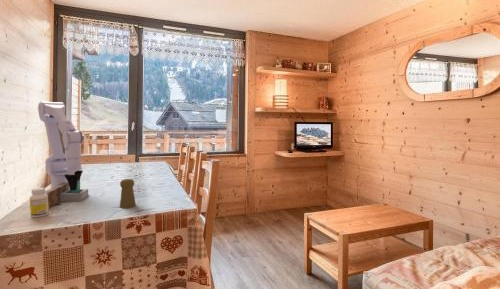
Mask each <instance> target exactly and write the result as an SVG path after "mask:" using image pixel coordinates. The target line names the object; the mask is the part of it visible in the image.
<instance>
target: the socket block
mask: <svg viewBox="0 0 500 289" xmlns="http://www.w3.org/2000/svg"><path fill="white" fill-rule="evenodd" d="M88 196H89V188H82V189H81V188H80V193H70V190H66V191H65V192H63V193H61V194H60V201H59V202H70V201H71V202H72V201H83V200H84V199H86V198H87V197H88Z"/></svg>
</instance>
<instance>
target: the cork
mask: <svg viewBox="0 0 500 289" xmlns="http://www.w3.org/2000/svg"><path fill="white" fill-rule="evenodd" d="M134 185H135V181H134V180H133V179H132V178H124V179H121V180H120V183H119V186H120V187H121V190H120V192H121V193H120V201H119V208H121V209H131V207H132V208H135V207H136V206H137V204H136V198H135V192H134ZM134 206H135V207H134Z"/></svg>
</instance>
